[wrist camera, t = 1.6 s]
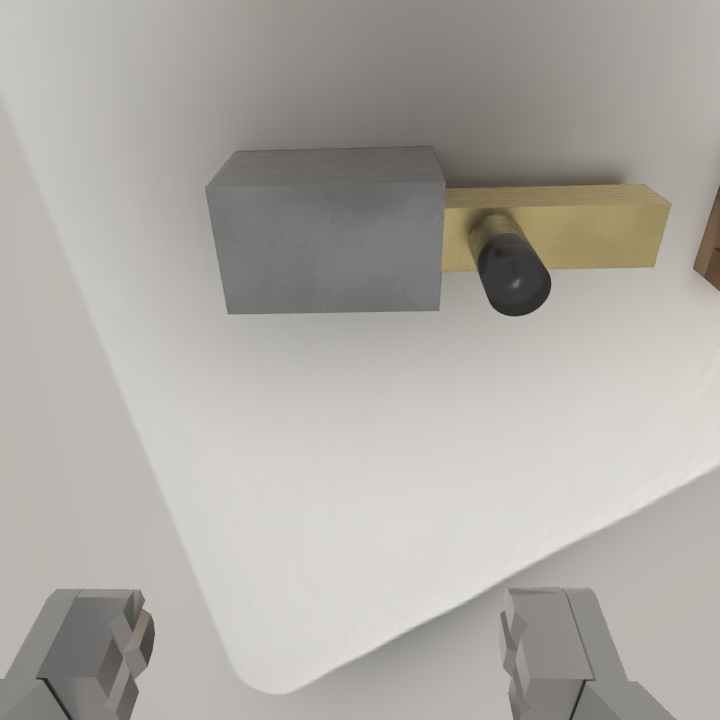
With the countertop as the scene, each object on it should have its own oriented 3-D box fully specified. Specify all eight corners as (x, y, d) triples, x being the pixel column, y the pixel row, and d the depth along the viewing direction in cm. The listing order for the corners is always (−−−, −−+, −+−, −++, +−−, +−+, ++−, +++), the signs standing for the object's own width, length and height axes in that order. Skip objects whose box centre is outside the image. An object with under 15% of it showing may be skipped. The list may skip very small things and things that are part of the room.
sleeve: (235, 151, 29) (204, 187, 23) (432, 146, 28) (445, 181, 23) (251, 261, 32) (227, 314, 27) (427, 257, 32) (438, 310, 26)
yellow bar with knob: (231, 193, 28) (186, 258, 21) (643, 183, 27) (733, 247, 20) (240, 251, 29) (201, 328, 22) (628, 243, 29) (707, 319, 22)
